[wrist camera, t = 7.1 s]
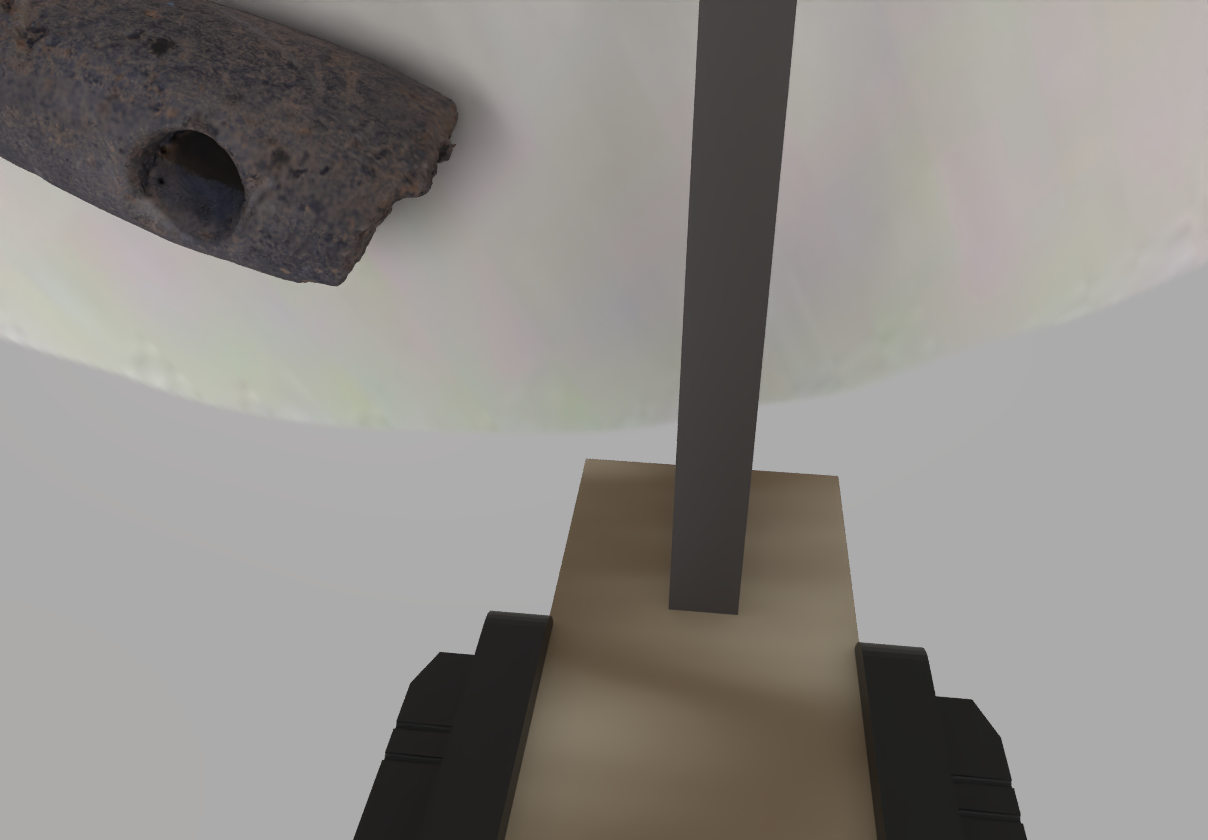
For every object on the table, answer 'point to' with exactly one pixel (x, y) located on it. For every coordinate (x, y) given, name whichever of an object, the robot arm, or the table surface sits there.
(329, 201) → the perforated stone tool
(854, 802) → the blade tool
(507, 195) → the table surface
